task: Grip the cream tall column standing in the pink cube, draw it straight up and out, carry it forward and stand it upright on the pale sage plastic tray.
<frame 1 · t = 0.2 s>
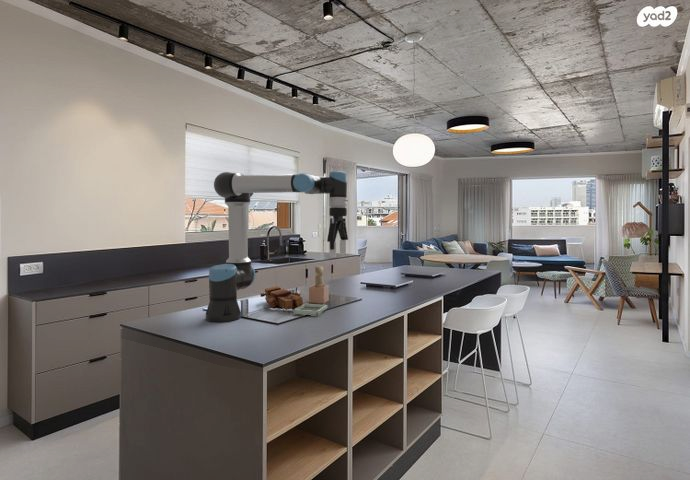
hand: (337, 255, 187), 28 cm above the countertop, fingers open, 13 cm apart
cream tall column: (319, 301, 221), point 1 cm above the countertop, touching pink cube
tray: (310, 312, 201), on the countertop
brown chunky pile: (281, 305, 214), on the countertop, touching tray
pink cube: (319, 303, 221), on the countertop
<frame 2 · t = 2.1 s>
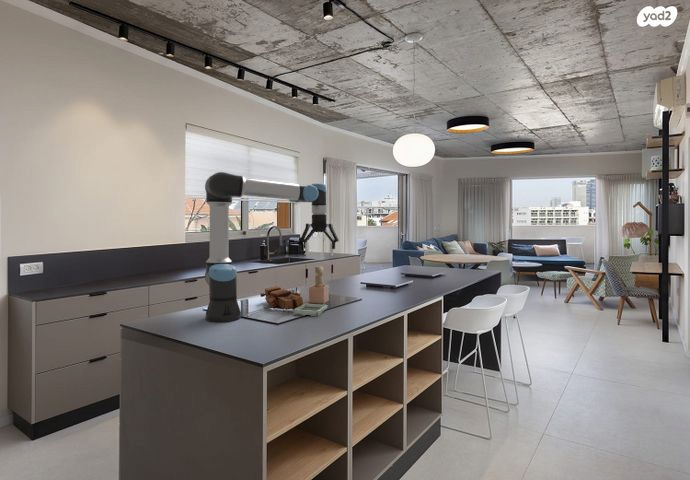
hand: (319, 255, 220), 25 cm above the countertop, fingers open, 13 cm apart
nothing on the countertop moved.
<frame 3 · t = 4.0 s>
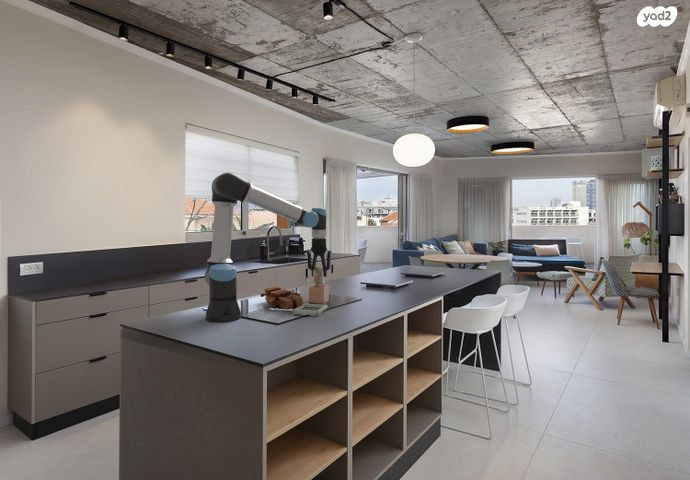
hand: (319, 282, 220), 11 cm above the countertop, fingers closed on cream tall column, 4 cm apart
cream tall column: (319, 301, 221), point 1 cm above the countertop, touching pink cube, gripper
everything else where it was.
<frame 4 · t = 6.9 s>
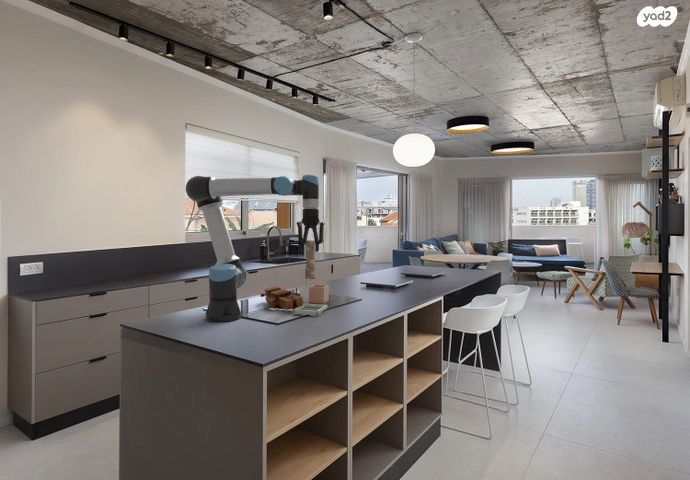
hand: (310, 258, 200), 25 cm above the countertop, fingers closed on cream tall column, 4 cm apart
cream tall column: (310, 278, 200), point 16 cm above the countertop, touching gripper
everything else where it was.
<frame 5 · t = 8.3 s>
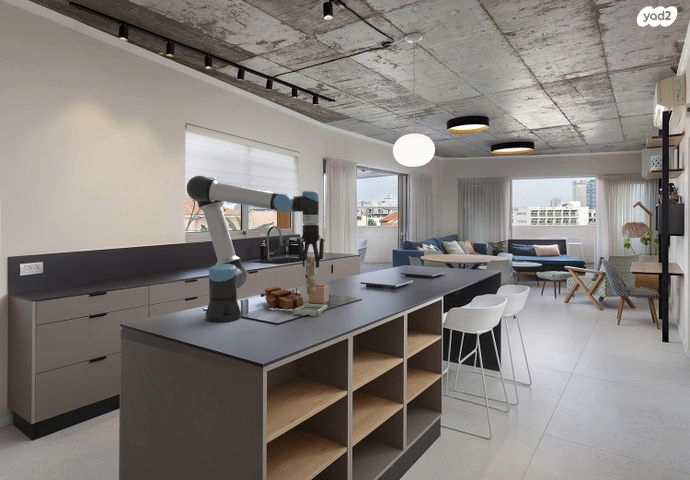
hand: (311, 274, 200), 18 cm above the countertop, fingers closed on cream tall column, 4 cm apart
cream tall column: (311, 294, 201), point 8 cm above the countertop, touching gripper
everything else where it was.
when the fingers open (12 cm above the countertop, at t = 9.7 s): cream tall column drops 1 cm, resting on tray.
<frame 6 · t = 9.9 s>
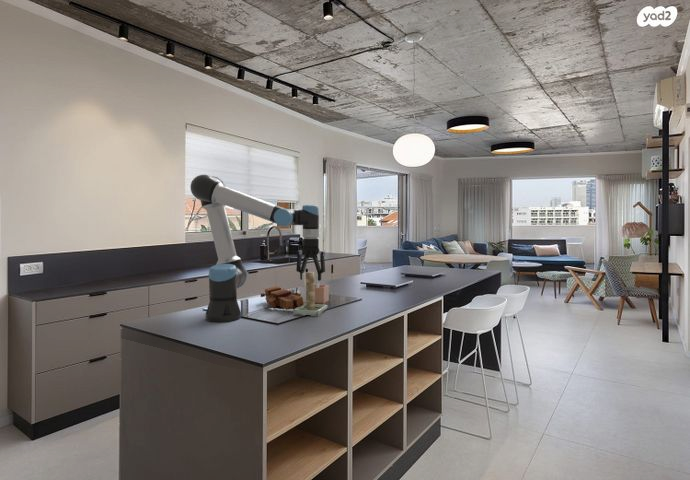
hand: (310, 287, 200), 12 cm above the countertop, fingers open, 6 cm apart
cream tall column: (310, 310, 201), point 1 cm above the countertop, touching tray
everything else where it was.
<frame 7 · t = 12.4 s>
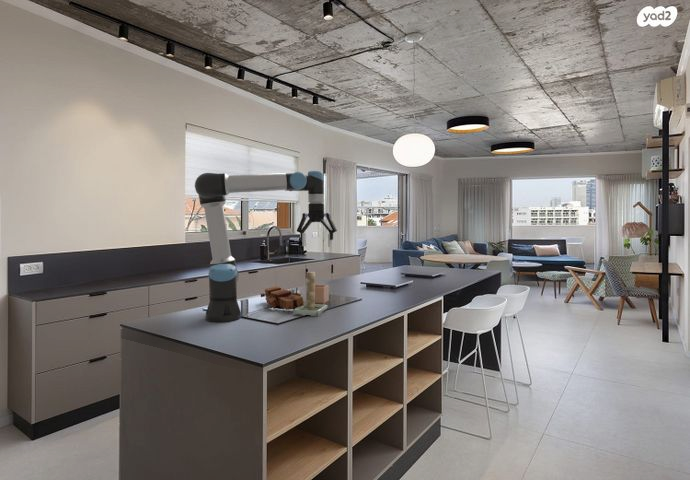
hand: (316, 246, 209), 30 cm above the countertop, fingers open, 13 cm apart
nothing on the countertop moved.
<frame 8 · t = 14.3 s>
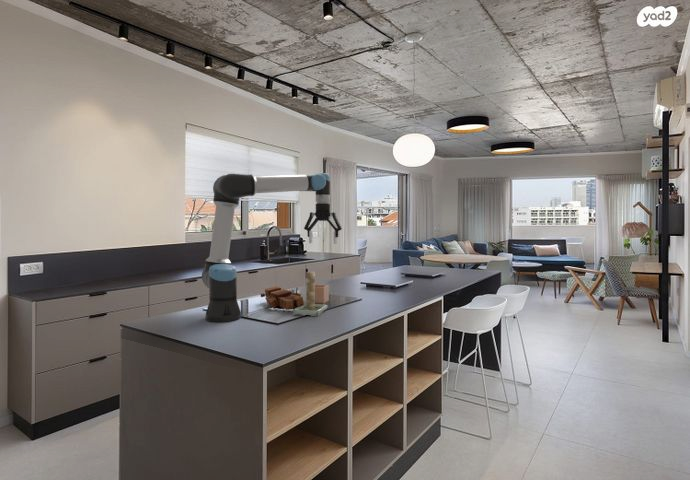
hand: (322, 243, 225), 31 cm above the countertop, fingers open, 13 cm apart
nothing on the countertop moved.
at the end: cream tall column inside the target area on the tray (0.1 cm from its centre), point 0.8 cm above the tray's base; cream tall column tilted 0°; the gripper is holding nothing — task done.
